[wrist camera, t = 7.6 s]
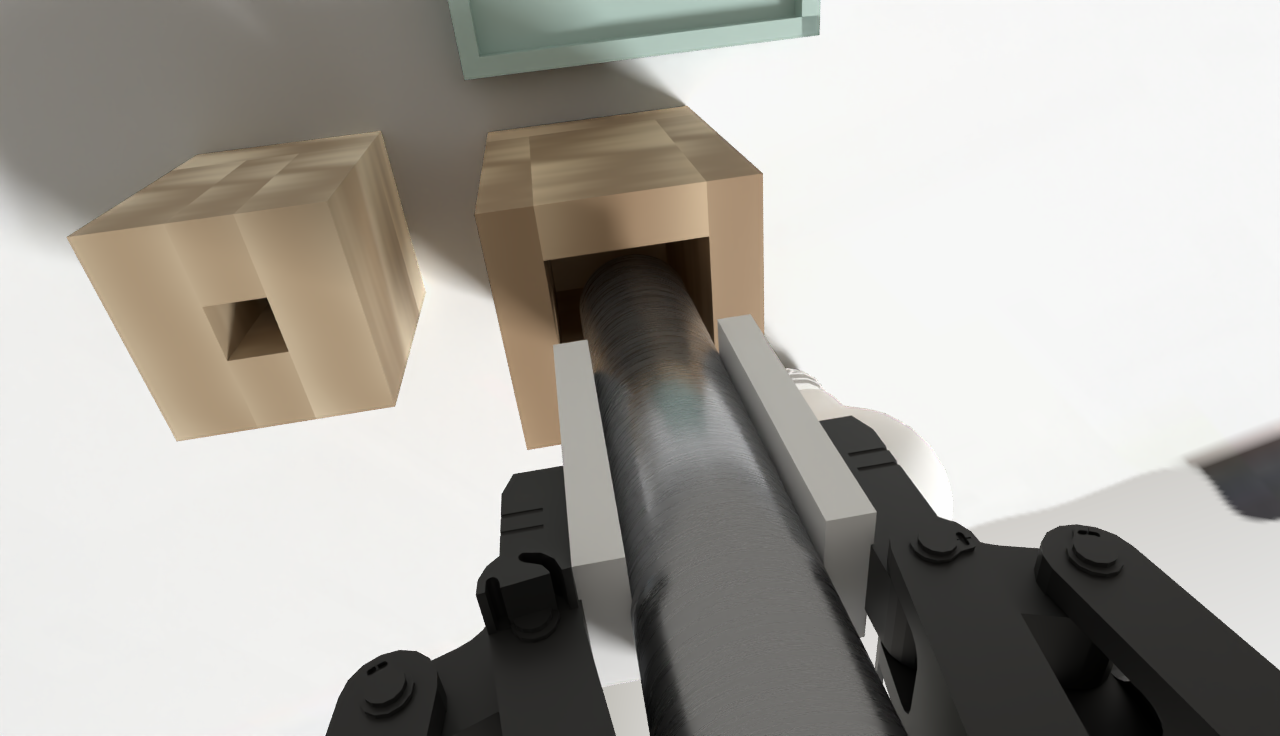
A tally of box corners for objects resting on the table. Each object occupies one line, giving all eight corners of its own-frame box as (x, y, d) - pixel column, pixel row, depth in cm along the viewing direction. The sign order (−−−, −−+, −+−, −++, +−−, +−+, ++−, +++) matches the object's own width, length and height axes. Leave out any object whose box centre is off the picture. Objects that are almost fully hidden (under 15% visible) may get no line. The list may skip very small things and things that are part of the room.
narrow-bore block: (264, 315, 27) (176, 441, 20) (197, 154, 23) (66, 237, 17) (425, 291, 27) (395, 406, 20) (380, 130, 24) (327, 201, 17)
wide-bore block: (524, 313, 28) (527, 450, 20) (487, 132, 24) (474, 214, 17) (697, 287, 29) (764, 410, 21) (687, 105, 25) (762, 173, 17)
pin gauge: (587, 360, 20) (702, 1060, 7) (572, 263, 19) (684, 933, 6) (690, 344, 20) (974, 997, 8) (683, 246, 19) (1024, 858, 6)
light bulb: (739, 306, 29) (844, 473, 20) (877, 336, 31) (1034, 503, 22) (689, 436, 32) (759, 634, 23) (817, 457, 34) (932, 649, 25)
